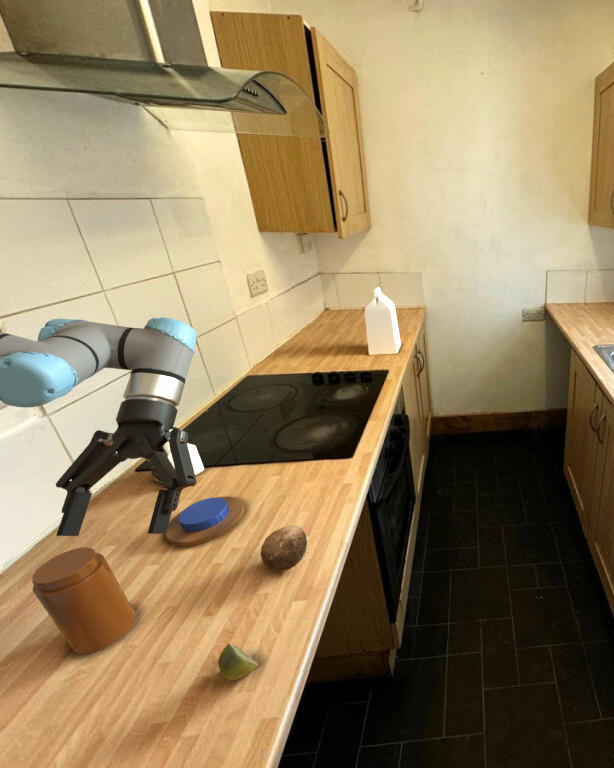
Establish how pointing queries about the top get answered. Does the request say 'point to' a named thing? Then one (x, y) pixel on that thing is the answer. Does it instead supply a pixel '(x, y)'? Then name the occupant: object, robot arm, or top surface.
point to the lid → (203, 514)
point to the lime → (235, 663)
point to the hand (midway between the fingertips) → (112, 535)
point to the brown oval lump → (284, 548)
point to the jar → (83, 599)
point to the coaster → (187, 538)
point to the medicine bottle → (192, 451)
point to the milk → (382, 325)
